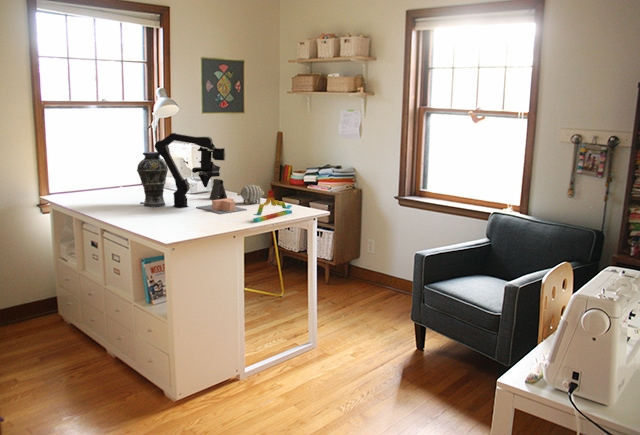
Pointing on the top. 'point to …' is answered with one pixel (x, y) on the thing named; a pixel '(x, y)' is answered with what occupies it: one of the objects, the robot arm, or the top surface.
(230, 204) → the t block
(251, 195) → the toy sheep
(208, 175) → the robot arm
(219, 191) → the phone stand
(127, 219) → the top surface
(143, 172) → the vase
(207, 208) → the mat
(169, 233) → the top surface
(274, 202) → the multicoloured triangular frame
